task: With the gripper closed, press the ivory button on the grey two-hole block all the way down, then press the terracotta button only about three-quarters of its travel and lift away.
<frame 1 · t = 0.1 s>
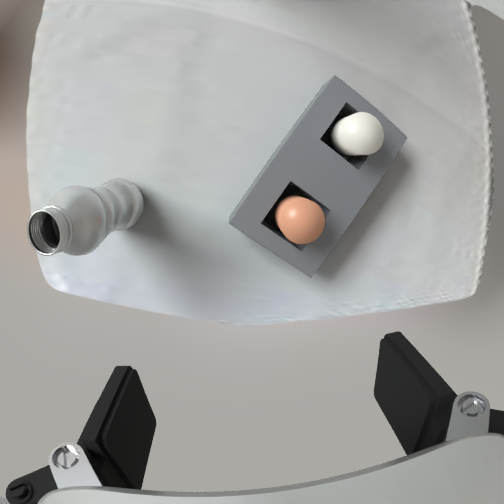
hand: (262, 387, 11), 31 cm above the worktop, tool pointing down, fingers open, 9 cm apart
grey two-hole block: (314, 174, 39), on the worktop
ivory button: (356, 135, 32), point 6 cm above the worktop, slide at 0.0 cm
terracotta button: (298, 218, 35), point 6 cm above the worktop, slide at 0.0 cm
plastic bottle: (125, 201, 39), on the worktop
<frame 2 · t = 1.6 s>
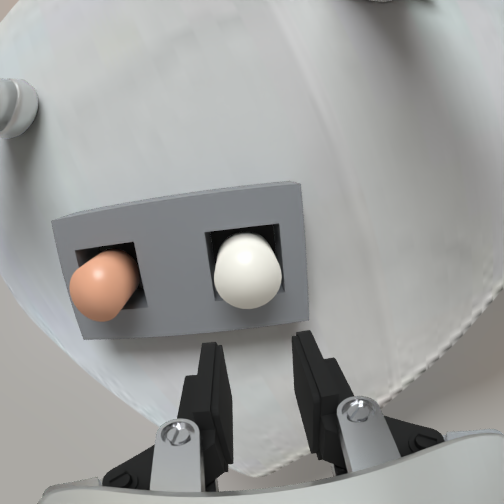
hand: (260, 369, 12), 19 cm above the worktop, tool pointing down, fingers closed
grey two-hole block: (183, 255, 30), on the worktop
ivory button: (246, 267, 24), point 6 cm above the worktop, slide at 0.0 cm
terracotta button: (106, 283, 24), point 6 cm above the worktop, slide at 0.0 cm
plastic bottle: (25, 111, 25), on the worktop
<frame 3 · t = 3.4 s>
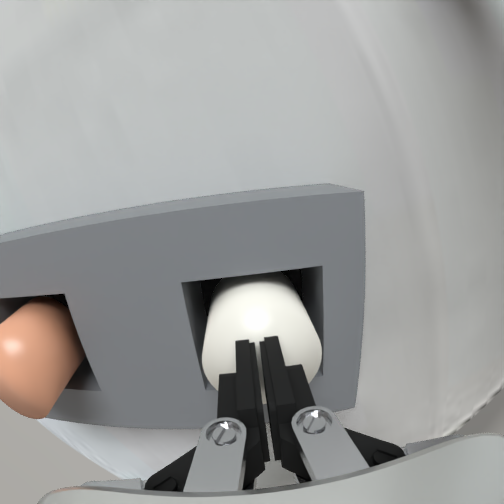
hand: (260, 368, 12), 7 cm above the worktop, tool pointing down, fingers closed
grey two-hole block: (156, 302, 18), on the worktop
ivory button: (258, 330, 14), point 5 cm above the worktop, slide at 1.5 cm, touching gripper
terracotta button: (33, 355, 12), point 6 cm above the worktop, slide at 0.0 cm
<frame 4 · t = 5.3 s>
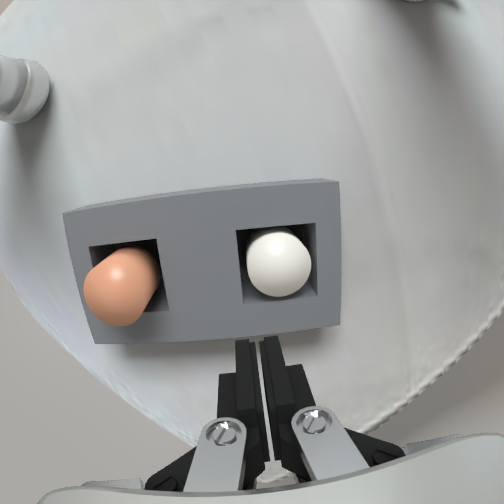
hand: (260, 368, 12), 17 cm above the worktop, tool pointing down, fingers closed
grey two-hole block: (206, 254, 28), on the worktop
ivory button: (275, 257, 25), point 3 cm above the worktop, slide at 3.0 cm
terracotta button: (123, 283, 22), point 6 cm above the worktop, slide at 0.0 cm
plastic bottle: (34, 95, 23), on the worktop
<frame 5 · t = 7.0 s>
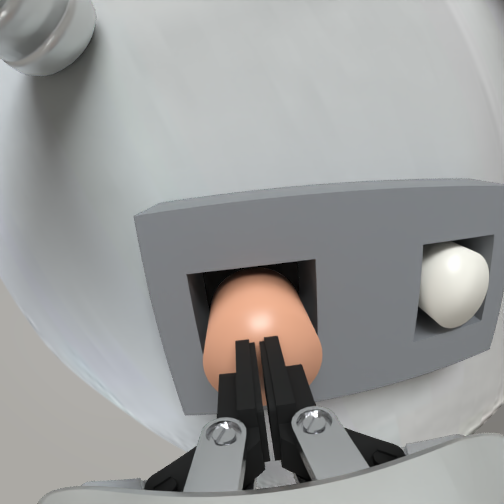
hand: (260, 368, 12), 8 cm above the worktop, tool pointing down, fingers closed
grey two-hole block: (342, 274, 20), on the worktop
ivory button: (440, 277, 17), point 3 cm above the worktop, slide at 3.0 cm
terracotta button: (258, 332, 14), point 6 cm above the worktop, slide at 0.2 cm, touching gripper
plastic bottle: (67, 41, 15), on the worktop
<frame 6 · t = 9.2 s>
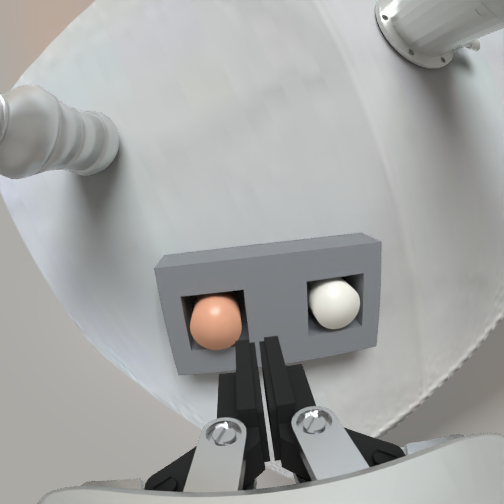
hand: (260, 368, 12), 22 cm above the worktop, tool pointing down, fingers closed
grey two-hole block: (270, 295, 34), on the worktop
ivory button: (330, 298, 32), point 3 cm above the worktop, slide at 3.0 cm
terracotta button: (216, 316, 30), point 4 cm above the worktop, slide at 2.1 cm
plastic bottle: (99, 145, 29), on the worktop
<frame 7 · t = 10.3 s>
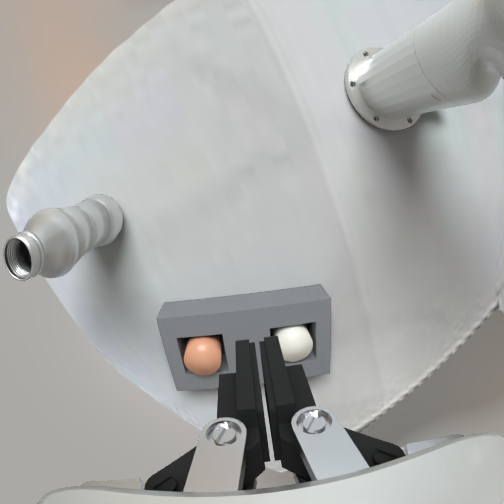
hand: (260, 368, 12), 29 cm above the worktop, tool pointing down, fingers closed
grey two-hole block: (246, 332, 44), on the worktop
ivory button: (291, 337, 41), point 3 cm above the worktop, slide at 3.0 cm
terracotta button: (203, 350, 40), point 4 cm above the worktop, slide at 2.1 cm
plastic bottle: (106, 217, 38), on the worktop
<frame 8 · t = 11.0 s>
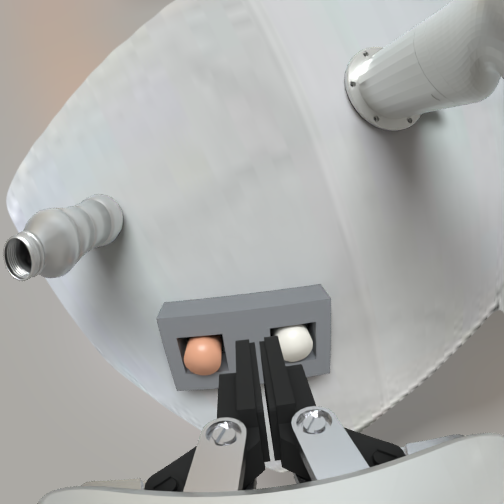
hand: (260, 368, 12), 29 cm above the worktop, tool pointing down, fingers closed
grey two-hole block: (246, 332, 44), on the worktop
ivory button: (291, 337, 41), point 3 cm above the worktop, slide at 3.0 cm
terracotta button: (203, 350, 40), point 4 cm above the worktop, slide at 2.1 cm
plastic bottle: (106, 217, 38), on the worktop
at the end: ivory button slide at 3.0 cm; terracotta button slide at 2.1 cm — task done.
